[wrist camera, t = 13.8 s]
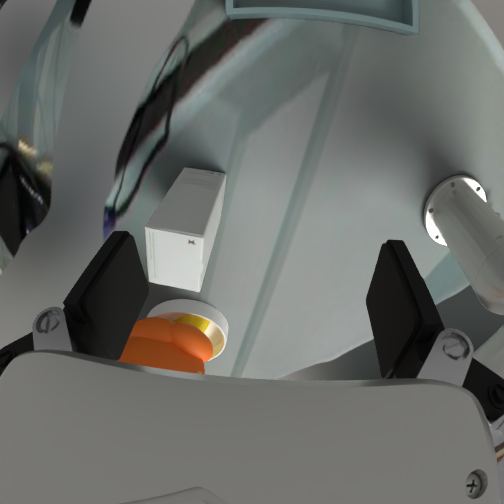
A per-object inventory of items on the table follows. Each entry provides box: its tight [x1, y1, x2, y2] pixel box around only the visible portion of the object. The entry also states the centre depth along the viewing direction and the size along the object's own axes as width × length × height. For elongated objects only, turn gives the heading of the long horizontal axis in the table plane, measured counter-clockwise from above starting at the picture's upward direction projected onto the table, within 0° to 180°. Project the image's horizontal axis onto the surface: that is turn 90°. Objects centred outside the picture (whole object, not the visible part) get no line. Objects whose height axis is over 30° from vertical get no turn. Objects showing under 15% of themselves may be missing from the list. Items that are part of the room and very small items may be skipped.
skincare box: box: [145, 167, 226, 292], centre depth 37 cm, size 8×7×16 cm
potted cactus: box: [116, 299, 228, 374], centre depth 48 cm, size 22×22×35 cm
